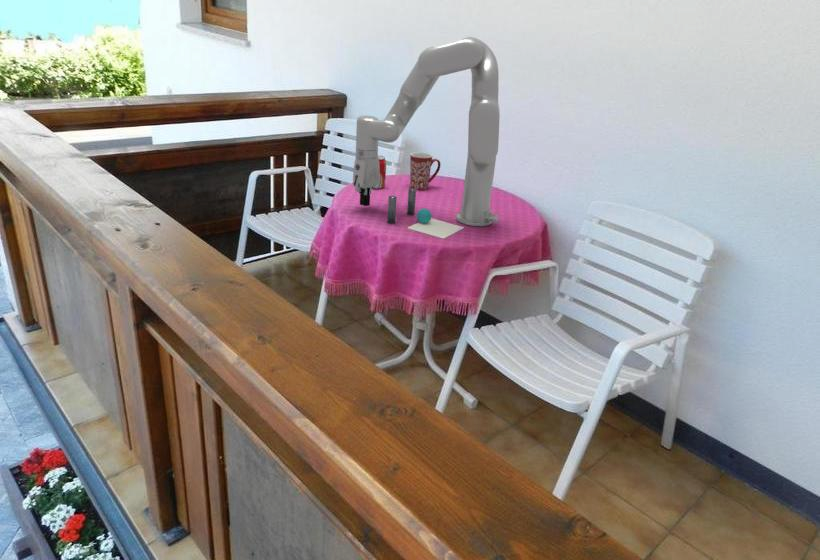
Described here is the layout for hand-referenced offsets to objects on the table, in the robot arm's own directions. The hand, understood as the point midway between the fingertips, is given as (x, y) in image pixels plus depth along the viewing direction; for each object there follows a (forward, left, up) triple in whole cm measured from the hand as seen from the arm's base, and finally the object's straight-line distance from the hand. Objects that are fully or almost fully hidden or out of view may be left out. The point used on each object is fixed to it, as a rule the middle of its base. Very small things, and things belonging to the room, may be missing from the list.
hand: (364, 204), depth 210 cm
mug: (-1, -38, -2) cm, 38 cm away
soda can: (+13, -25, -2) cm, 28 cm away
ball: (-23, -2, +1) cm, 23 cm away
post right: (-15, -7, -2) cm, 17 cm away
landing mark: (-29, -1, -2) cm, 29 cm away
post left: (-15, +5, -2) cm, 16 cm away
